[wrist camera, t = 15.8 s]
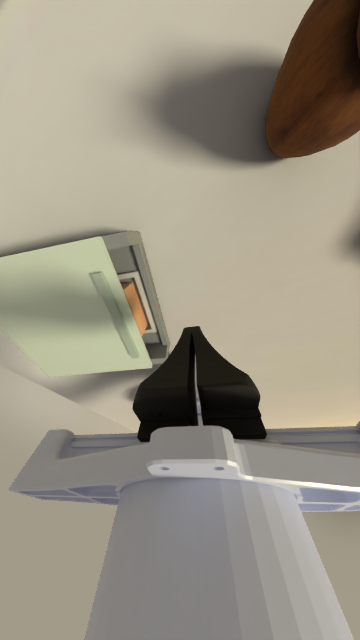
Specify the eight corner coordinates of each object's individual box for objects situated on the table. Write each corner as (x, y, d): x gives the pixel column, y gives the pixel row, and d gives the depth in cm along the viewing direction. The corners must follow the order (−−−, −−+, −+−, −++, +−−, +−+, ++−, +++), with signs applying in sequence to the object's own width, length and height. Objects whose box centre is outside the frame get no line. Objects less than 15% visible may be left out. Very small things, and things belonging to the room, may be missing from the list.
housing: (169, 343, 26) (167, 363, 22) (69, 354, 29) (51, 373, 25) (139, 231, 17) (125, 231, 13) (-5, 261, 20) (-52, 269, 16)
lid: (152, 364, 23) (151, 371, 22) (51, 374, 25) (45, 380, 24) (101, 236, 13) (94, 236, 12) (-53, 269, 16) (-69, 271, 15)
